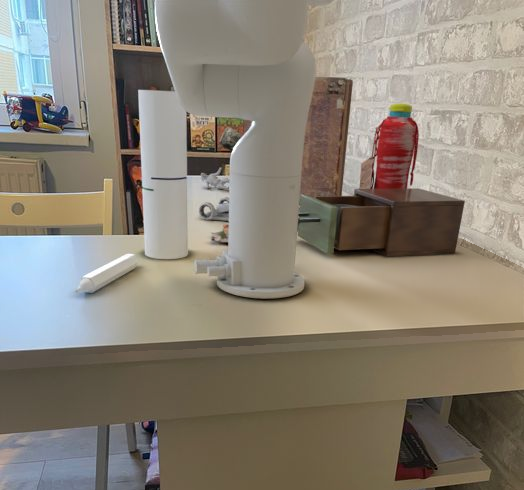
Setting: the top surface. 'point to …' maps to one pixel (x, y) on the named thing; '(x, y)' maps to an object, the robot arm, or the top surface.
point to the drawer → (343, 222)
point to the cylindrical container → (163, 174)
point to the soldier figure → (215, 180)
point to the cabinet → (418, 221)
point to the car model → (217, 214)
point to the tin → (339, 217)
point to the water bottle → (392, 151)
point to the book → (324, 137)
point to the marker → (107, 273)
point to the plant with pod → (229, 142)
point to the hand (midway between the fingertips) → (272, 172)
